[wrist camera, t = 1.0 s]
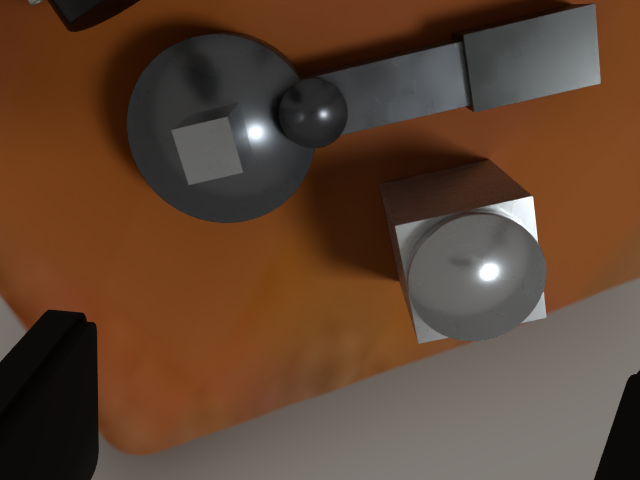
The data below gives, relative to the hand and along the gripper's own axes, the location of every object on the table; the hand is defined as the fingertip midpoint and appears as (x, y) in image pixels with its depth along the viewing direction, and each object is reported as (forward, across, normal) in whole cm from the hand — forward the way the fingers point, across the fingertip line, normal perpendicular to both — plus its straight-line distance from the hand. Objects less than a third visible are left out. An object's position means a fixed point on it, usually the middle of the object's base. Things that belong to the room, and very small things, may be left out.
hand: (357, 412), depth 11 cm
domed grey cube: (+23, -7, +4) cm, 24 cm away
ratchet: (+23, -1, -3) cm, 23 cm away
